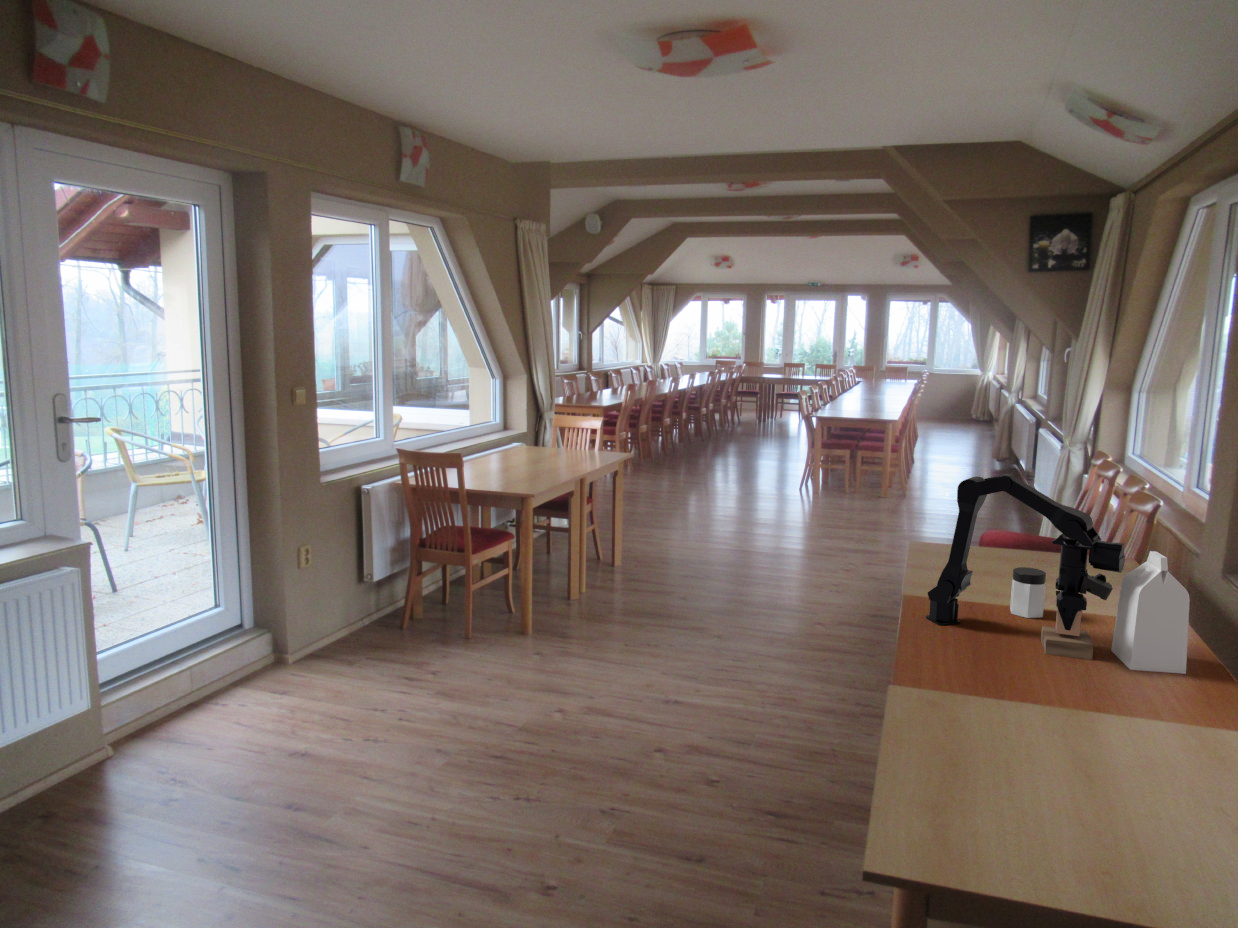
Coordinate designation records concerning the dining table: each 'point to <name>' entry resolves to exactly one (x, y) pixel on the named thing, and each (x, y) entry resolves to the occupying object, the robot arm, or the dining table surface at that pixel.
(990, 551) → the dining table surface
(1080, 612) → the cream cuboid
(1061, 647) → the beige block
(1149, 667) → the milk
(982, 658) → the dining table surface
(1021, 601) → the jar
